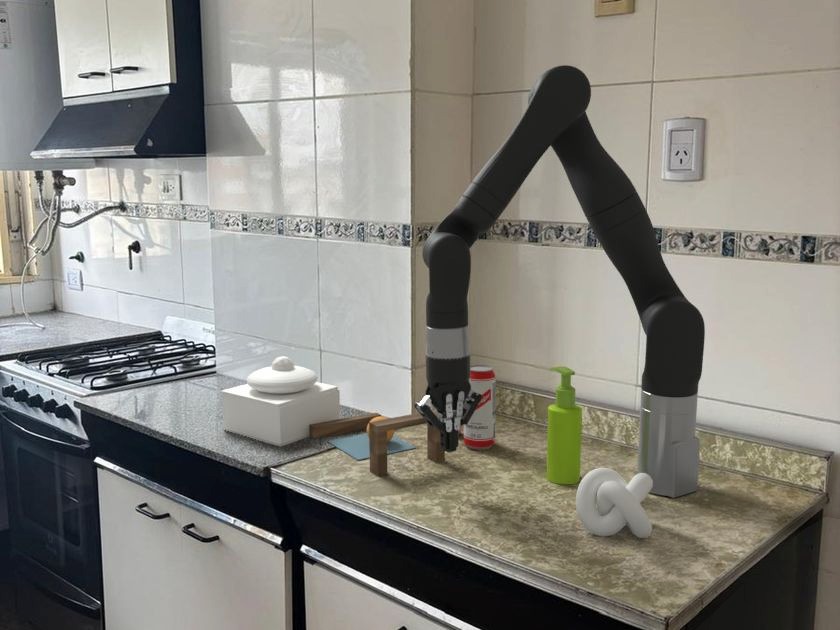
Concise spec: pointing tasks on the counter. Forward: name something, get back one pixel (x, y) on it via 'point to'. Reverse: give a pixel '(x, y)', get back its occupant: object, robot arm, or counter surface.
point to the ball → (389, 433)
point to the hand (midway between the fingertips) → (449, 450)
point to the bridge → (382, 426)
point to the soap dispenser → (564, 433)
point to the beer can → (482, 409)
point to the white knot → (613, 503)
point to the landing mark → (367, 446)
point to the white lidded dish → (279, 403)
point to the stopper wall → (341, 425)
